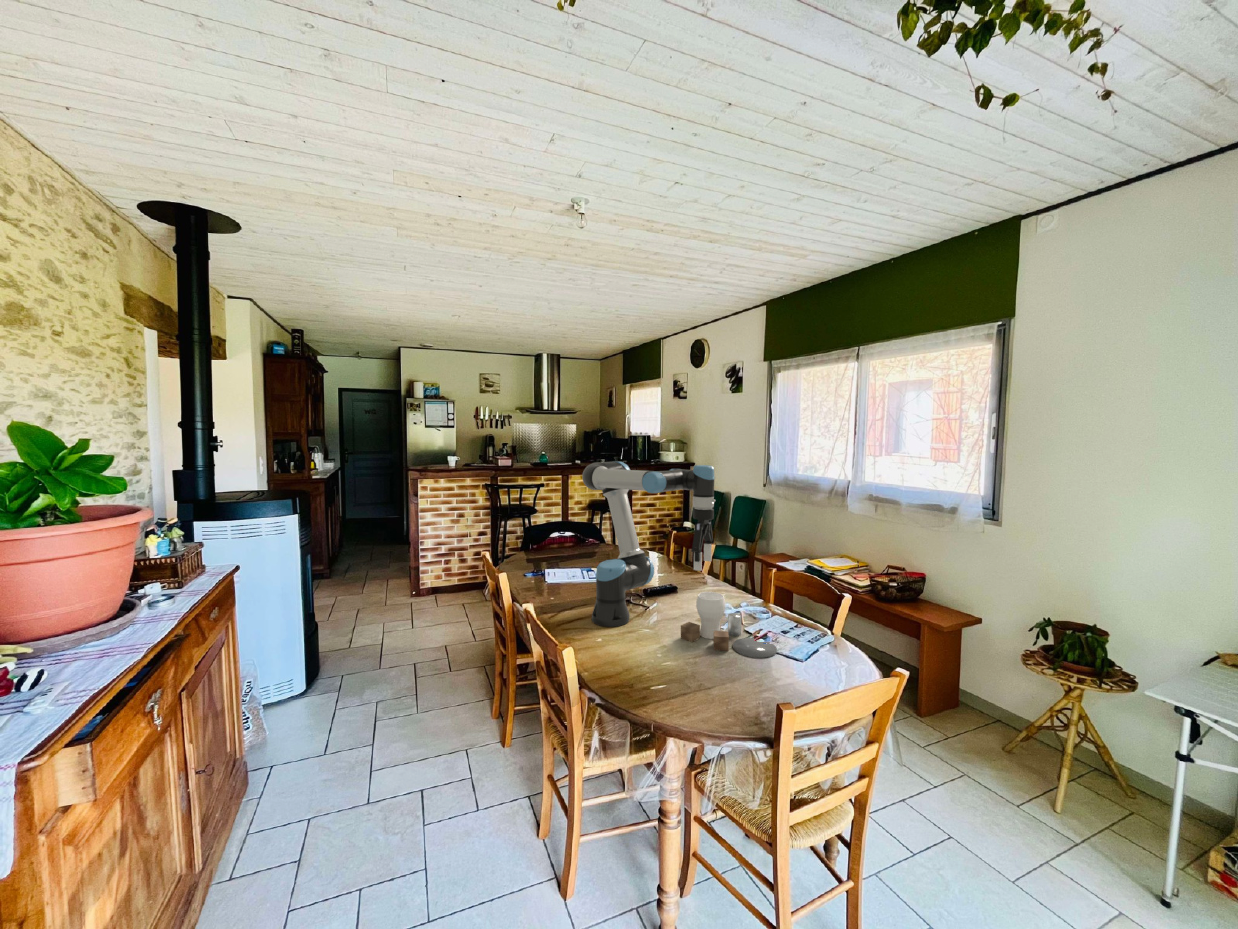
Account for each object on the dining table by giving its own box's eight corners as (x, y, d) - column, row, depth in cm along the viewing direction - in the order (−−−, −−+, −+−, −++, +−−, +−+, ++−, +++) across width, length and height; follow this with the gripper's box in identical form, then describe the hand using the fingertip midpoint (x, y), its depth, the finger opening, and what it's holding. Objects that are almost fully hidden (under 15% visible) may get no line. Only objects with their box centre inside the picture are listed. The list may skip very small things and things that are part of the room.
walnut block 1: (680, 638, 188) (680, 625, 187) (688, 634, 191) (688, 621, 191) (691, 642, 184) (692, 629, 184) (699, 638, 188) (699, 625, 187)
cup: (724, 642, 185) (725, 601, 183) (695, 639, 187) (695, 599, 186) (724, 630, 195) (725, 592, 194) (696, 628, 197) (697, 590, 196)
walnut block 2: (713, 650, 178) (714, 636, 178) (713, 644, 183) (713, 630, 183) (728, 651, 177) (728, 637, 177) (727, 645, 182) (728, 631, 182)
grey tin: (726, 635, 191) (726, 616, 190) (729, 630, 196) (729, 612, 195) (739, 637, 189) (740, 618, 188) (742, 632, 194) (742, 614, 193)
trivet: (728, 653, 176) (728, 651, 176) (737, 636, 189) (737, 635, 189) (774, 661, 170) (774, 659, 170) (779, 643, 183) (779, 642, 183)
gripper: (704, 513, 172) (703, 575, 174) (721, 503, 195) (720, 558, 196) (683, 512, 175) (682, 573, 177) (702, 502, 198) (701, 556, 200)
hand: (702, 565), depth 187 cm, fingers open, 13 cm apart
